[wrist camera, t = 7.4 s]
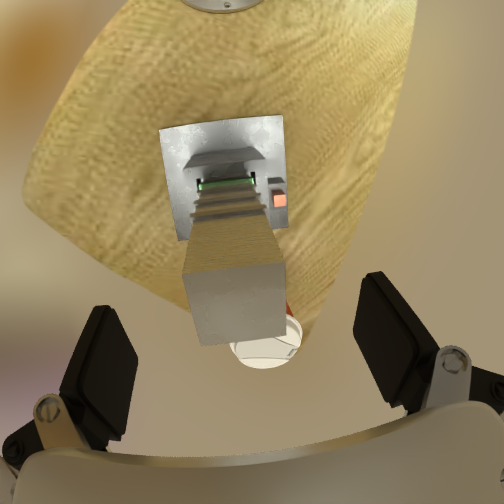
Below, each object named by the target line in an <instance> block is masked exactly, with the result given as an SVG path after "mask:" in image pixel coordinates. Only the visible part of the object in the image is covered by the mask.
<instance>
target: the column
mask: <svg viewBox="0 0 504 504" xmlns="http://www.w3.org/2000/svg"><path fill="white" fill-rule="evenodd" d="M201 182H202V183H199V189H200V190H198V191H197V193H196V194H197V200H195V201H194V203H193V205H194V211H195V213H190V217H189V219H190V224H191V233H190V237H189V242H188V246H187V251H186V255H185V260H184V265H183V270H182V278H183V282H184V286H185V290H186V294H187V298H188V301H189V305H190V309H191V313H192V316H193V320H194V323H195V326H196V330H197V334H198V337H199V341H200V344H201V346H207V345H217V344H226V343H236V342H244V341H252V340H259V339H267V338H274V337H280V336H287V334H286V276H285V260H284V258H283V255H282V253H281V250H280V248H279V245H278V243H277V241H276V238H275V236H274V233H273V231H272V229H271V226H270V224H269V221H268V208H267V206H266V204H262V195H261V193H258V192H257V185H256V184H254V181H253V177H252V176H251V174H250V172H246V173H237V174H228V175H220V176H212V177H204V178H201Z"/></svg>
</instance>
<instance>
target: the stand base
mask: <svg viewBox="0 0 504 504" xmlns="http://www.w3.org/2000/svg"><path fill="white" fill-rule="evenodd" d="M159 134H160V141H161V148H162V155H163V161H164V167H165V173H166V179H167V185H168V191H169V196H170V202H171V207H172V212H173V217H174V222H175V227H176V232H177V237H178V241H181V240H189V237H190V233H191V224H190V219H189V217H190V213H195V211H194V205H193V203H194V201H195V200H197V194H196V193H197V191H198V190H200V189H199V183H202V182H201V178H204V177H212V176H220V175H228V174H237V173H246V172H250V174H251V176H252V177H253V181H254V184H256V185H257V192H258V193H261V195H262V204H266V206H267V208H268V221H269V224H270V226H271V229H279V228H288V205H287V183H286V163H285V146H284V131H283V117H282V115H276V116H260V117H247V118H236V119H227V120H218V121H210V122H203V123H196V124H189V125H183V126H177V127H172V128H166V129H161V130H159Z"/></svg>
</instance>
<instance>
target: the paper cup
mask: <svg viewBox="0 0 504 504" xmlns="http://www.w3.org/2000/svg"><path fill="white" fill-rule="evenodd" d="M286 334H287V336H280V337H274V338H267V339H259V340H252V341H244V342H236V343H229V344H230V347H231V349H232V351H233V352H234V353H235V354H236V355H237V357H238V359H239V360H240V361H241V362H242V363H243V364H245V365H247V366H250V367H254V368H262V369H264V368H272V367H276V366H279V365H282V364H284V363H286V362H287V361H289V360H290V357H292V356H293V355H294V354H295V353H296V351H297V350H298V349H297V348H298V347H300V343H301V339H302V328H301V326H300V324H299V322H298V321H297V320H296V319H295V318H294V317H293V314H292V312H291V310H290V307H289V305H288V303H287V300H286Z"/></svg>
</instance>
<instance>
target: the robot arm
mask: <svg viewBox="0 0 504 504" xmlns="http://www.w3.org/2000/svg"><path fill="white" fill-rule="evenodd" d="M181 1H183V2H184V3H185V4H187V5H189V6H190V7H193V8H195V9H198V10H201V11H206V12H212V13H231V12H237V11H242V10H245V9H248V8H251V7H253V6H255V5H257V4H259V3H260V2H262V1H263V0H181ZM226 6H229V8H225V7H226ZM353 335H354V338H355V340H356V342H357V344H358V346H359V348H360V350H361V352H362V354H363V356H364V358H365V360H366V362H367V364H368V366H369V368H370V371H371V373H372V375H373V377H374V379H375V381H376V383H377V386H378V388H379V390H380V392H381V394H382V396H383V399H384V400H385V402H387V403H388V402H389V403H390V406H391V408H394V407H397V406H400V405H403V407H404V409H405V413H404V416H403V418H400V419H398V420H395V421H392V422H389V423H386V424H383V425H380V426H377V427H374V428H370V429H368V430H364V431H361V432H357V433H354V434H351V435H347V436H343V437H340V438H336V439H332V440H328V441H323V442H319V443H314V444H310V445H305V446H299V447H294V448H288V449H282V450H276V451H269V452H261V453H253V454H243V455H231V456H215V457H158V456H143V455H130V454H121V453H112V452H111V450H110V448H109V447H108V442H109V440H113V441H121V436H122V435H123V434H125V431H126V425H127V418H128V413H129V407H130V401H131V396H132V391H133V386H134V381H135V375H136V371H137V366H138V356H137V354H136V352H135V350H134V348H133V346H132V344H131V342H130V341H129V338H128V336H127V334H126V332H125V330H124V328H123V326H122V324H121V322H120V320H119V318H118V315H117V313H116V311H115V310H114V309H111V307H110V306H109V305H101V306H95V307H94V308H93V310H92V312H91V314H90V316H89V318H88V320H87V323H86V325H85V327H84V329H83V331H82V334H81V336H80V338H79V340H78V343H77V345H76V347H75V350H74V352H73V355H72V357H71V359H70V362H69V364H68V367H67V370H66V372H65V375H64V378H63V380H62V383H61V386H60V389H59V390H60V394H59V396H58V395H56V394H46V395H44V396H42V397H41V398H40V399H39V400H38V401H37V402H36V404H35V406H34V410H33V417H34V419H33V420H32V421H30V422H29V423H27V424H26V425H25V426H23V427H21V428H20V429H18V430H17V431H16V432H14V433H13V434H11V435H10V436H8V437H7V438H6V440H5V441H4V443H3V447H2V454H3V457H1V456H0V504H504V376H503V375H500V374H496V373H493V372H490V371H487V370H484V369H480V368H478V367H474V366H472V364H471V359H470V357H469V355H468V354H467V353H466V351H464V350H463V349H462V348H460V347H457V346H452V345H449V346H445V347H443V348H441V349H440V348H439V346H438V345H437V343H436V342H435V340H434V339H433V337H432V336H431V334H430V333H429V332H428V330H427V329H426V327H425V326H424V325H423V323H422V322H421V321H420V319H419V318H418V317H417V315H416V314H415V313H414V311H413V310H412V309H411V307H410V306H409V305H408V303H407V302H406V301H405V299H404V298H403V297H402V296H401V294H400V293H399V292H398V290H396V288H395V287H394V285H393V284H392V283H391V282H390V280H388V278H387V277H386V276H385V274H384V273H383V272H381V271H379V272H373V273H368V274H367V275H366V277H365V278H363V280H362V283H361V289H360V295H359V301H358V306H357V311H356V316H355V321H354V326H353Z"/></svg>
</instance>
